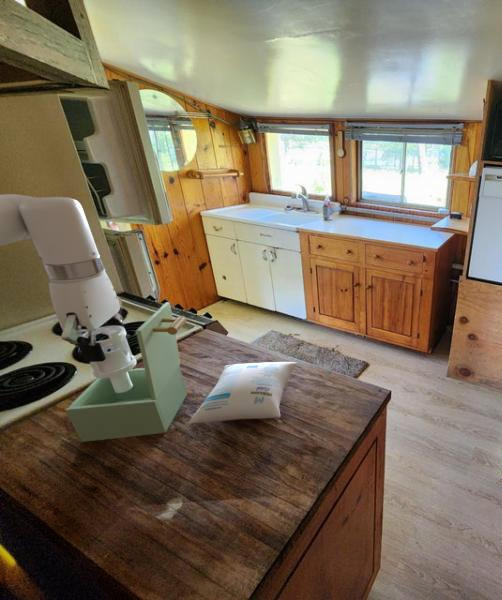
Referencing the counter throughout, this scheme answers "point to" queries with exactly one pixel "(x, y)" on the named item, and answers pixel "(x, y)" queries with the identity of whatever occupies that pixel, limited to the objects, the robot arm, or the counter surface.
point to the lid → (160, 347)
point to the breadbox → (126, 408)
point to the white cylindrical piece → (114, 358)
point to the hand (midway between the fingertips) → (108, 349)
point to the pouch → (246, 392)
